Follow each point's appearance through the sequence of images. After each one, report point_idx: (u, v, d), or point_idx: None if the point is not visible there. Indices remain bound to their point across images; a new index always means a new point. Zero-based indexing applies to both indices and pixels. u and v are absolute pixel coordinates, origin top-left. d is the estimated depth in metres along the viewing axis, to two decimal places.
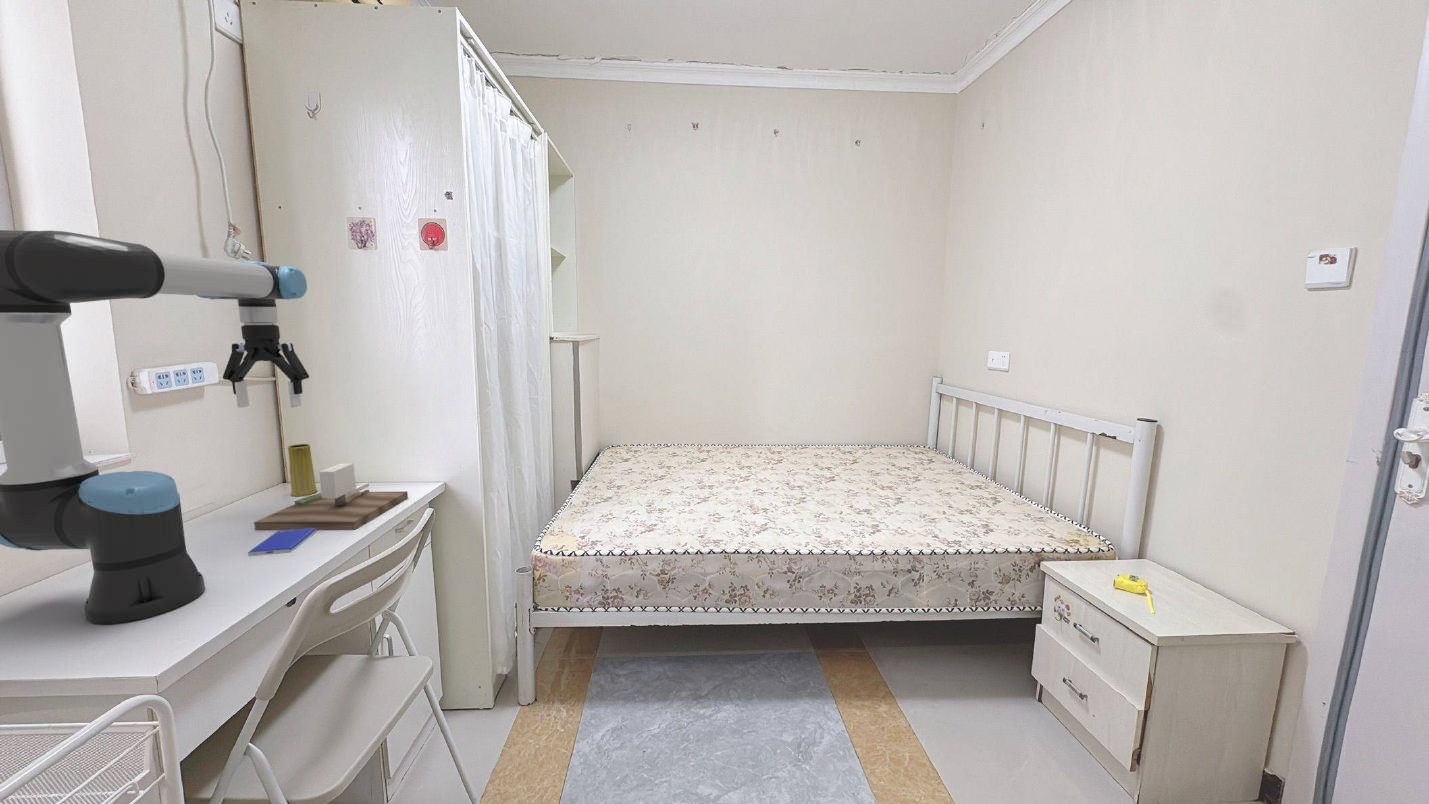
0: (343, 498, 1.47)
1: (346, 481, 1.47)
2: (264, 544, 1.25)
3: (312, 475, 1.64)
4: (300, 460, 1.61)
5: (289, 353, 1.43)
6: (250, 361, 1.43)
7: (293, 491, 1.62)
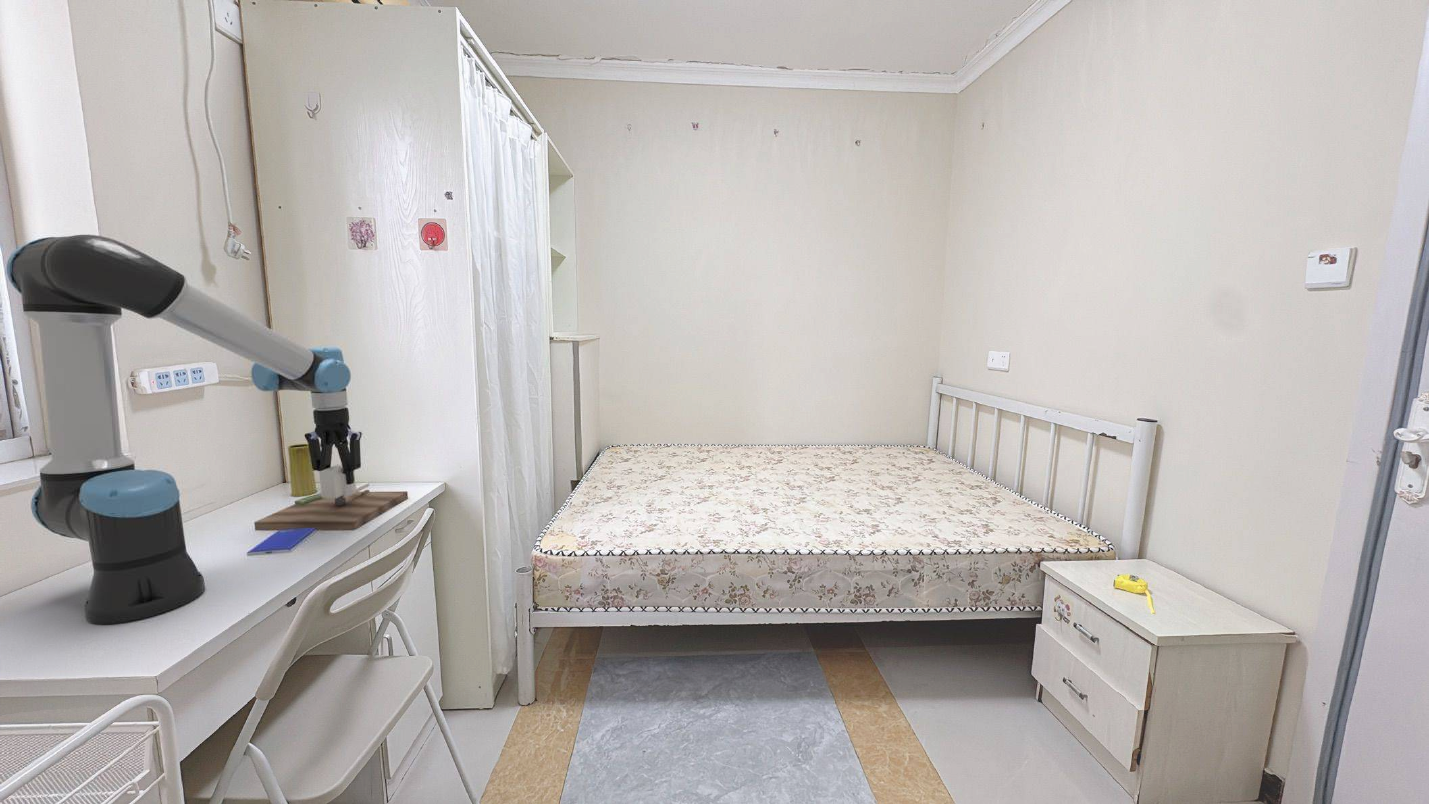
0: (343, 498, 1.47)
1: None
2: (263, 544, 1.25)
3: (312, 475, 1.64)
4: (300, 460, 1.61)
5: (355, 443, 1.44)
6: (327, 446, 1.44)
7: (293, 491, 1.62)
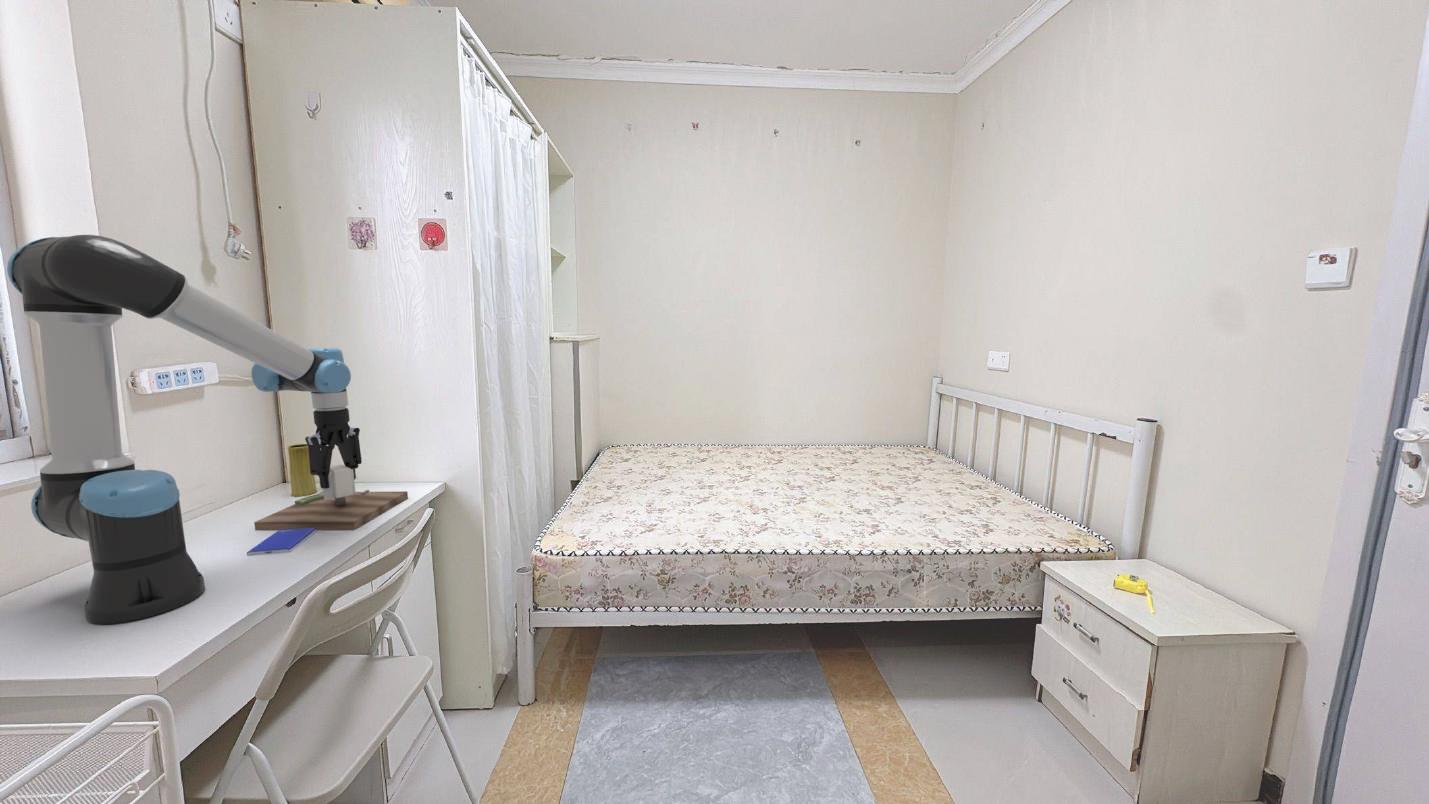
0: (345, 497, 1.48)
1: None
2: (263, 544, 1.25)
3: (312, 475, 1.64)
4: (300, 460, 1.61)
5: None
6: None
7: (293, 491, 1.62)
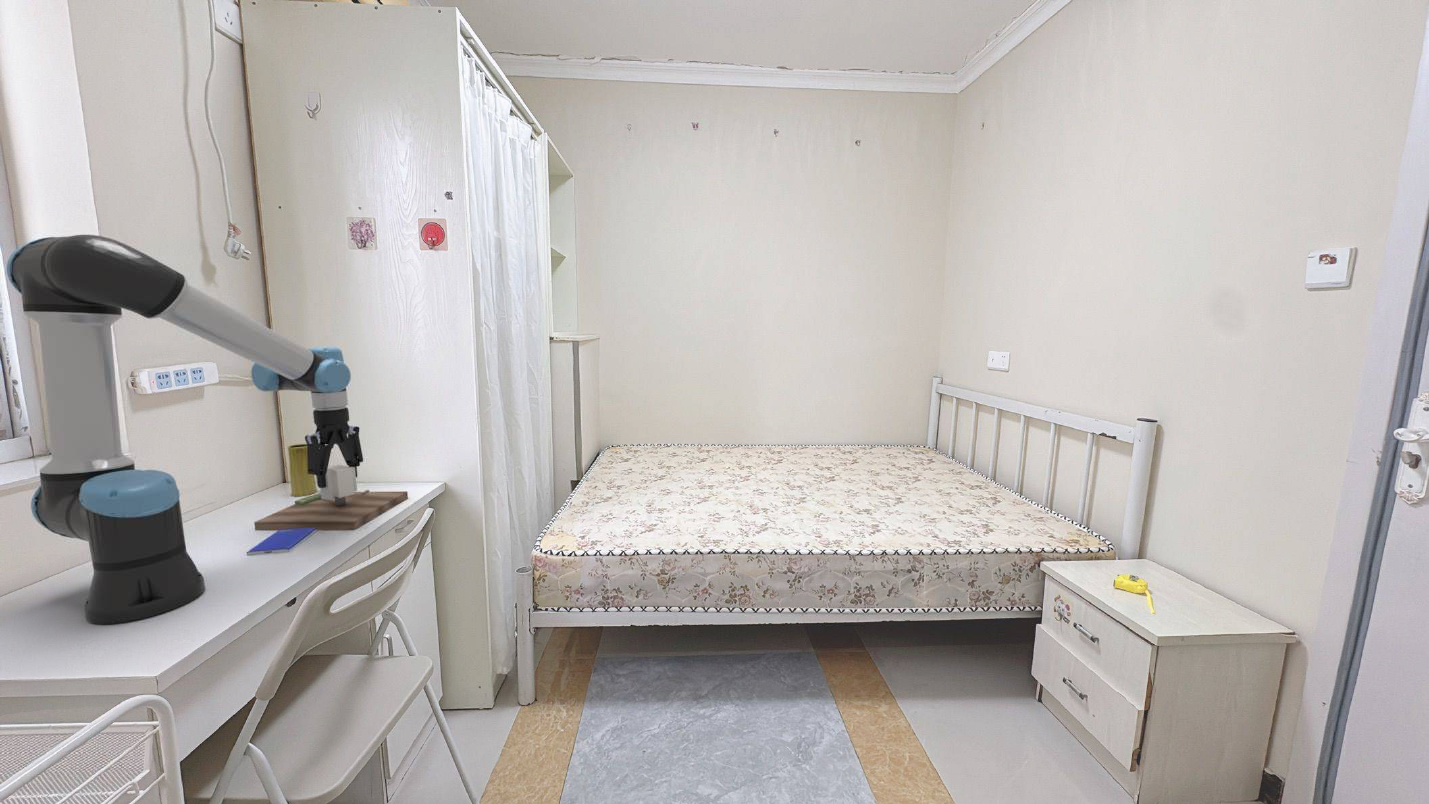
0: None
1: None
2: (263, 544, 1.25)
3: (312, 475, 1.64)
4: (300, 460, 1.61)
5: None
6: None
7: (293, 491, 1.62)
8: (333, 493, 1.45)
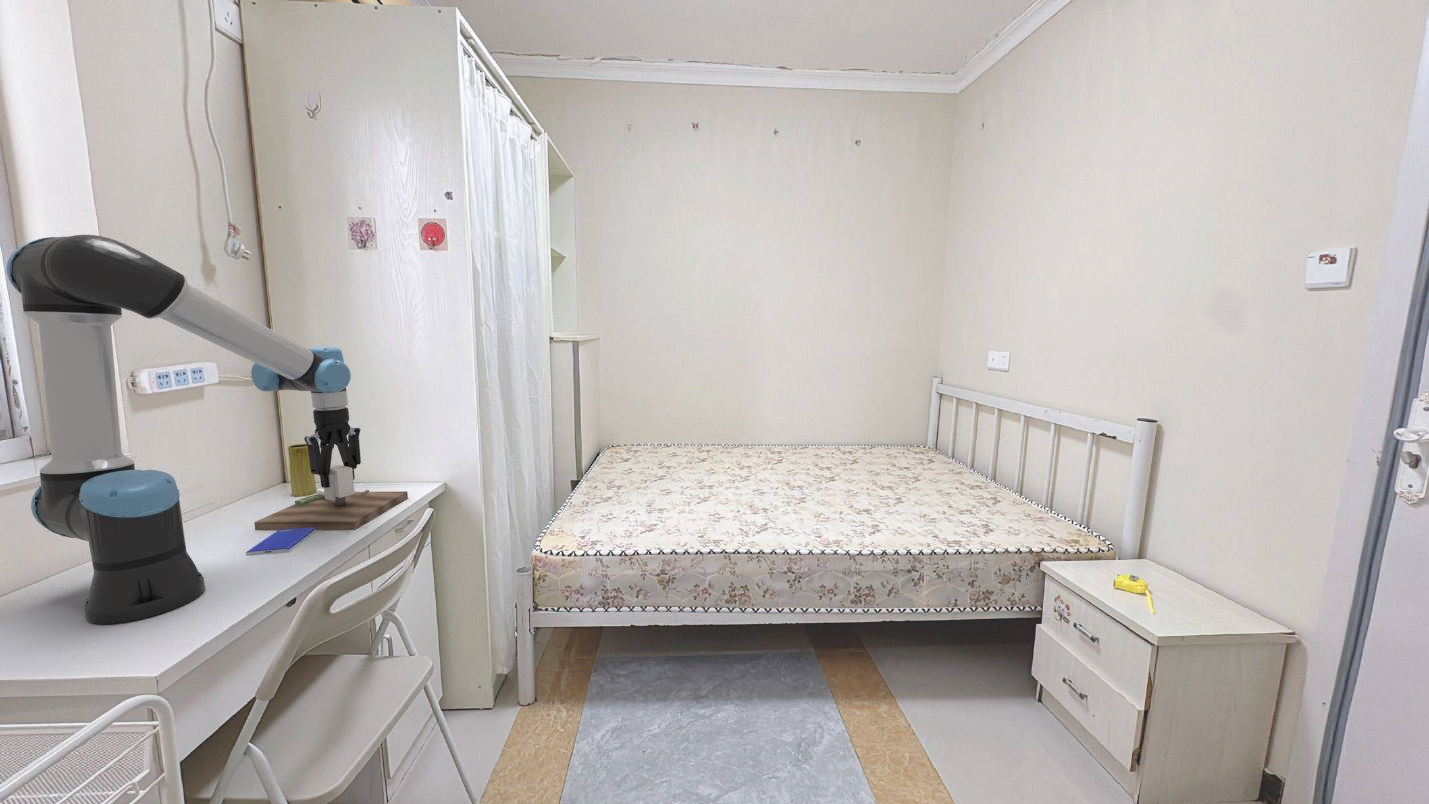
0: None
1: None
2: (263, 544, 1.25)
3: (312, 475, 1.64)
4: (300, 460, 1.61)
5: None
6: None
7: (293, 491, 1.62)
8: None
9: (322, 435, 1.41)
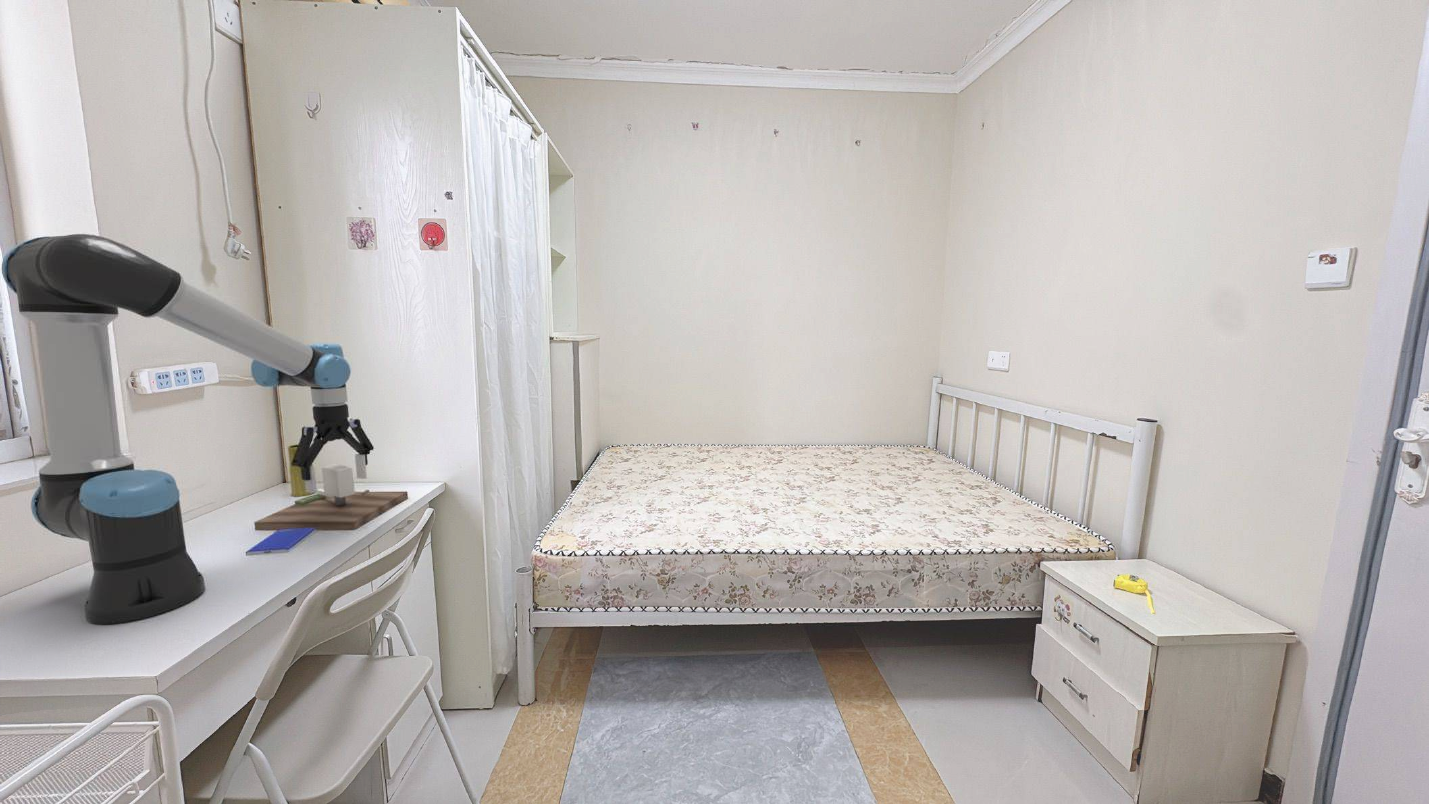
0: None
1: None
2: (262, 544, 1.25)
3: None
4: None
5: None
6: None
7: (293, 491, 1.62)
8: (333, 493, 1.45)
9: (321, 431, 1.40)
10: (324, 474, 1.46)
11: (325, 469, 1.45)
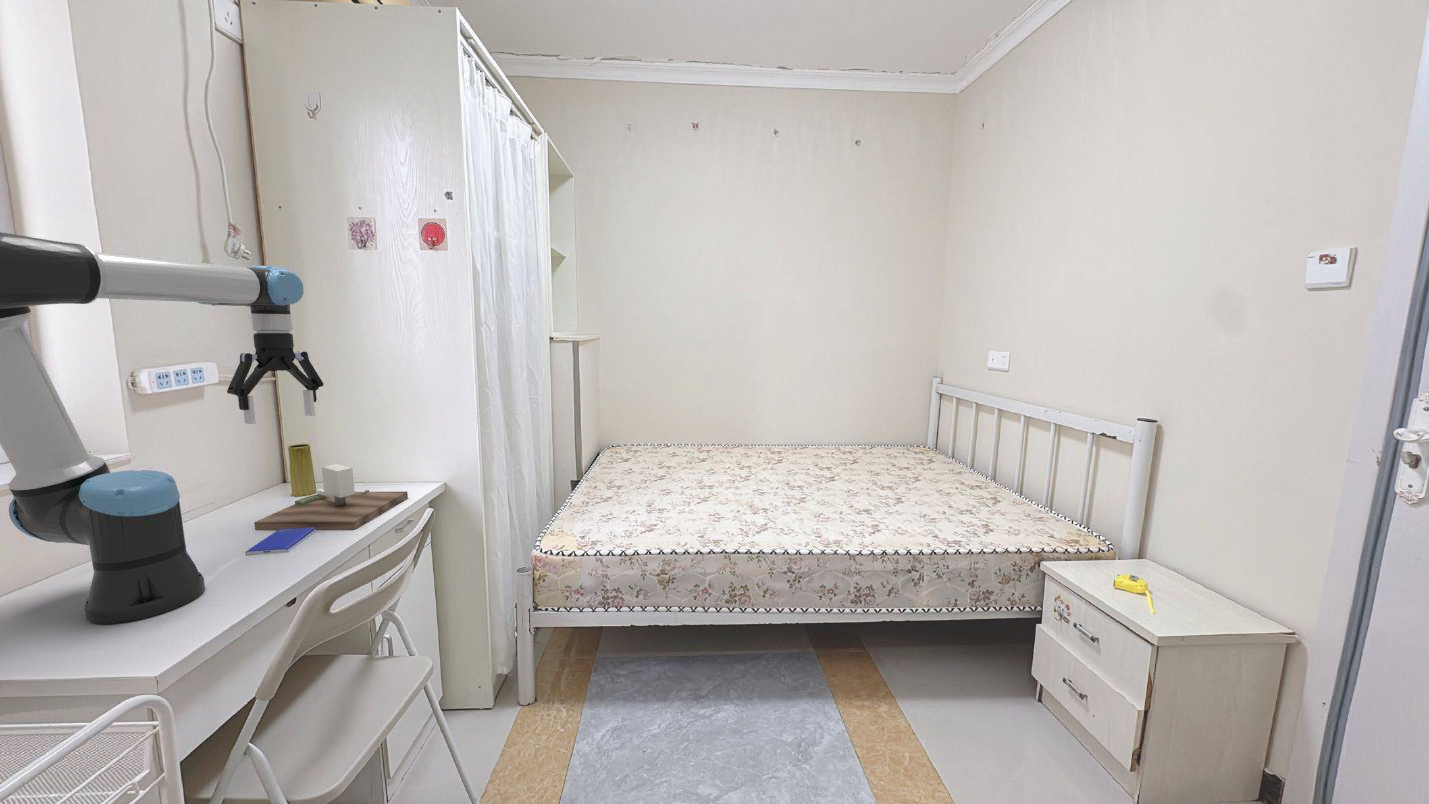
0: None
1: None
2: (262, 543, 1.25)
3: (312, 475, 1.64)
4: (300, 460, 1.61)
5: None
6: None
7: (293, 491, 1.62)
8: (333, 493, 1.45)
9: (261, 359, 1.32)
10: (324, 474, 1.46)
11: (325, 469, 1.45)
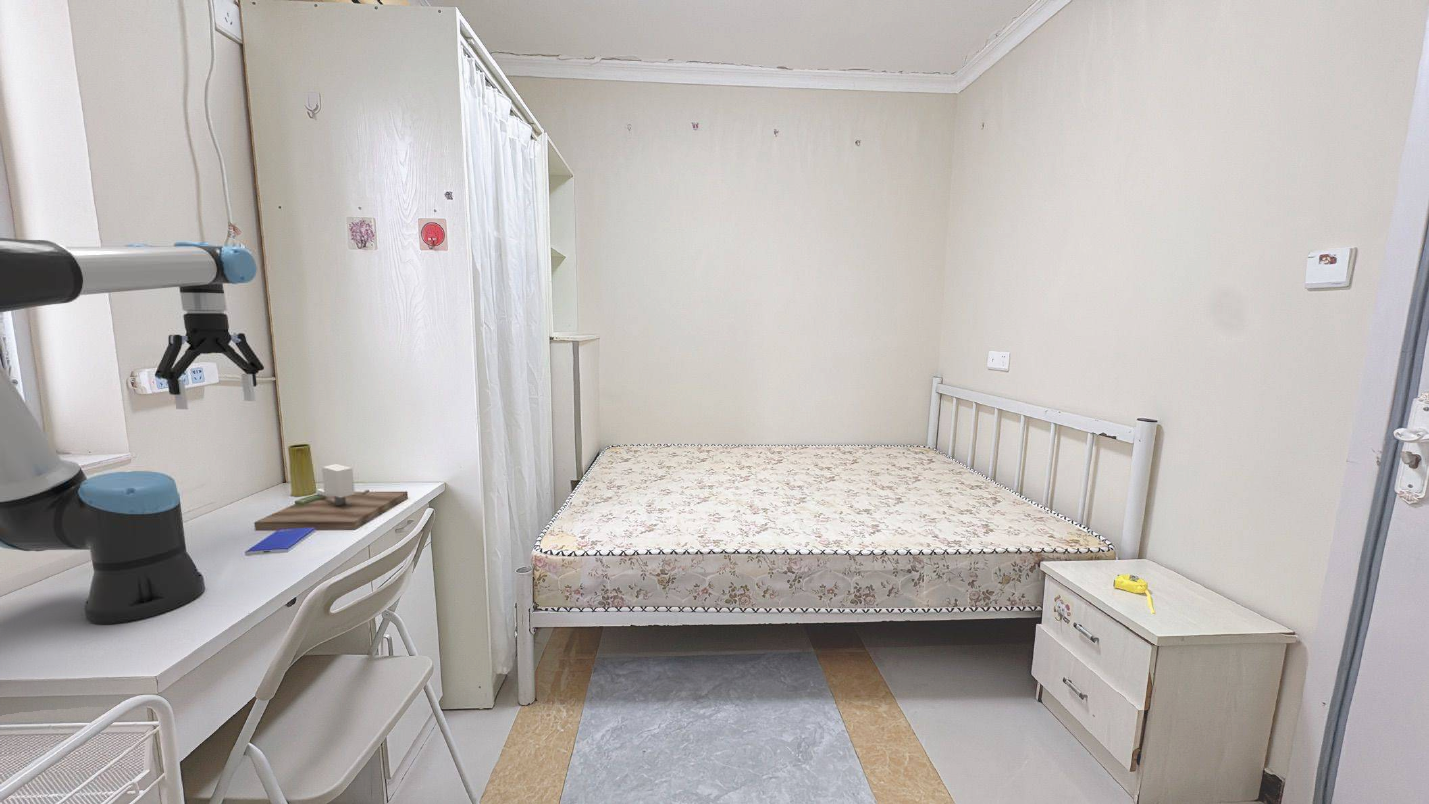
0: None
1: None
2: (262, 543, 1.25)
3: (312, 475, 1.64)
4: (300, 460, 1.61)
5: None
6: None
7: (293, 491, 1.62)
8: (333, 493, 1.45)
9: (193, 341, 1.25)
10: (324, 474, 1.46)
11: (325, 469, 1.45)
